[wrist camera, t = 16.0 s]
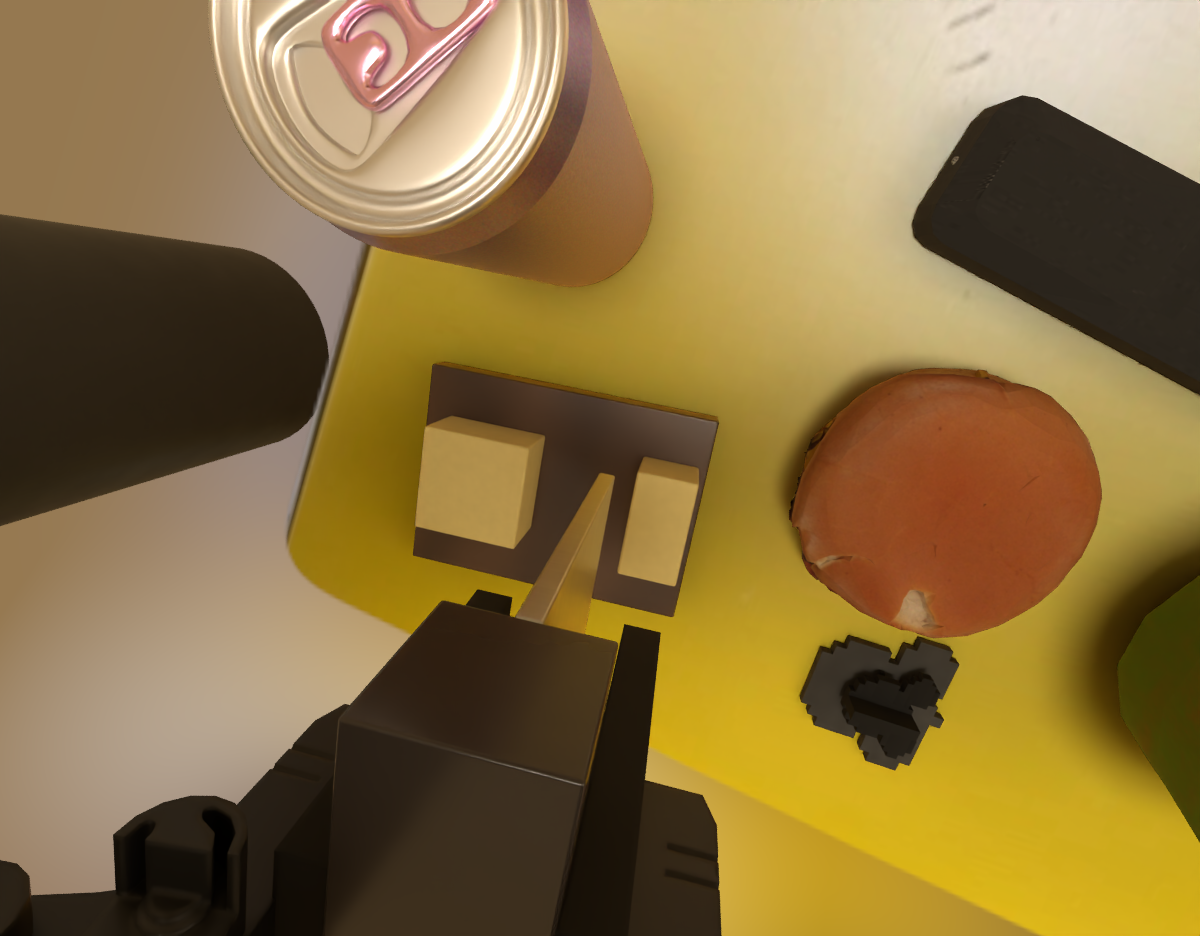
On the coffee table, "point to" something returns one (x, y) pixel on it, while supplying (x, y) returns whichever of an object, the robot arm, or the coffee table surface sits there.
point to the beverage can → (443, 127)
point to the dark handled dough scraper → (474, 761)
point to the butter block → (478, 480)
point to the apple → (1167, 695)
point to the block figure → (879, 695)
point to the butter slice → (659, 521)
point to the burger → (946, 501)
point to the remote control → (1075, 230)
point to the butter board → (570, 471)
